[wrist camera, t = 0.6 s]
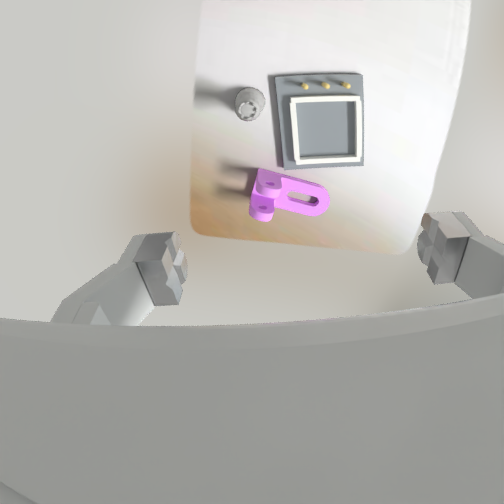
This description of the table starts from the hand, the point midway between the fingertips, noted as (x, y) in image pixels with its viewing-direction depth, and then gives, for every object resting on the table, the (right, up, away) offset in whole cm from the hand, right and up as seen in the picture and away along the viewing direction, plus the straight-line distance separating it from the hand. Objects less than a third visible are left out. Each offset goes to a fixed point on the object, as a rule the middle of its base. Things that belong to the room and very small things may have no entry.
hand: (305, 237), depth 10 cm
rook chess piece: (-2, +22, +33) cm, 40 cm away
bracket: (+5, +10, +42) cm, 43 cm away
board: (+9, +20, +34) cm, 40 cm away
